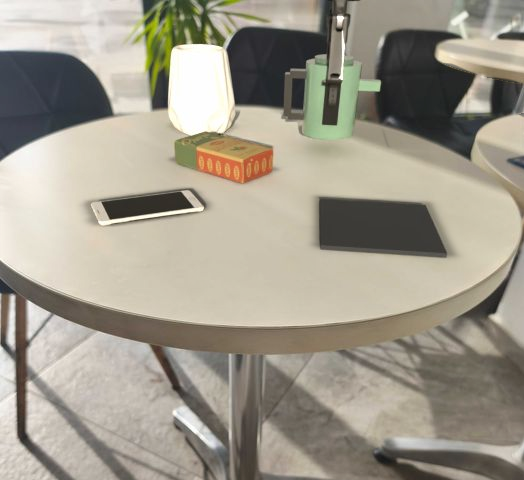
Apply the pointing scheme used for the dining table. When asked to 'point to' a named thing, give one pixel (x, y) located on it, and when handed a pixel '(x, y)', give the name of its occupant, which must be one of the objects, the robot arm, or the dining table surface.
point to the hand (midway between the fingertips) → (329, 117)
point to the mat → (378, 228)
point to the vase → (200, 89)
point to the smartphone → (146, 207)
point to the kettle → (316, 94)
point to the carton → (224, 156)
